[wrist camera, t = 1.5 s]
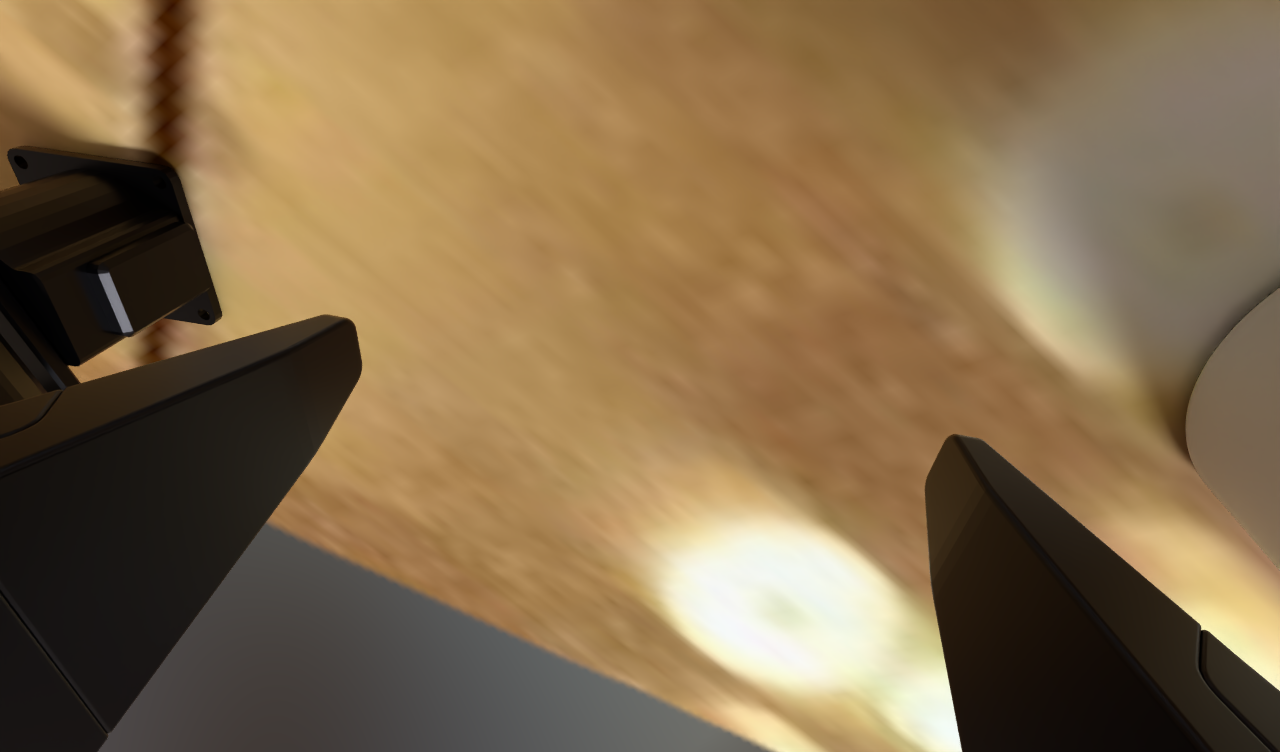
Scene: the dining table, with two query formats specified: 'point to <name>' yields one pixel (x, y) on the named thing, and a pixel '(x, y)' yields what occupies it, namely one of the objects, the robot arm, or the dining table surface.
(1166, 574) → the dining table surface
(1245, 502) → the cylinder vase
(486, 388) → the dining table surface
